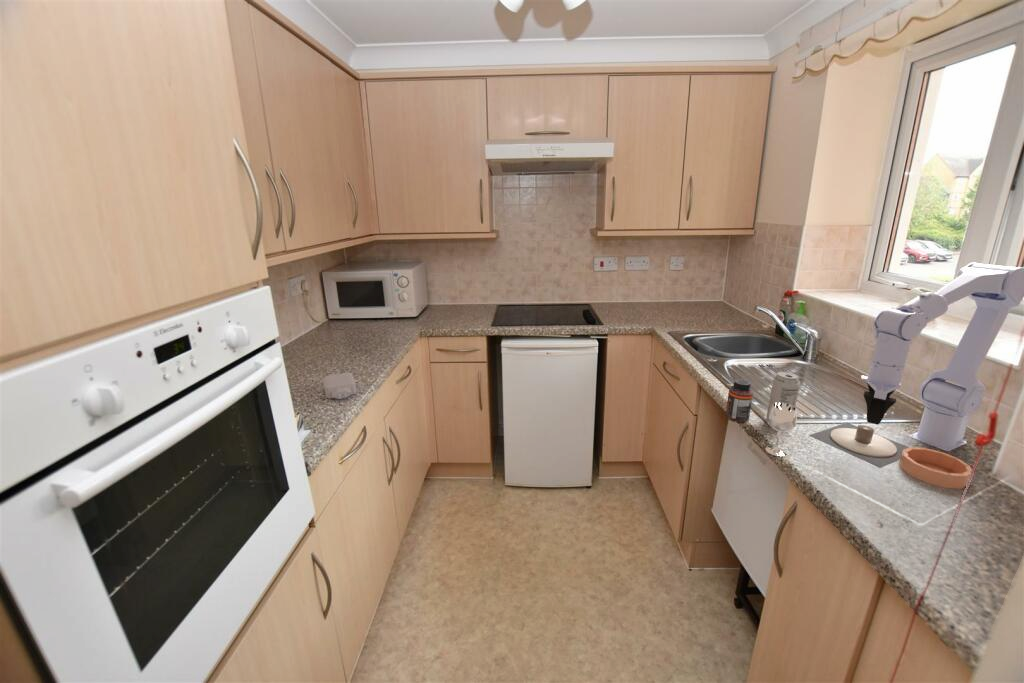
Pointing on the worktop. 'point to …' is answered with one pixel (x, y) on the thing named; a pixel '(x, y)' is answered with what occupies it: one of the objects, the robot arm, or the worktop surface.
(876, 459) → the mat
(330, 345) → the worktop surface
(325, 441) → the worktop surface
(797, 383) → the energy drink can
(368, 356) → the worktop surface
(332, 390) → the charger
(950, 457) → the bowl
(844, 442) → the lid
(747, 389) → the supplement bottle
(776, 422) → the wineglass
